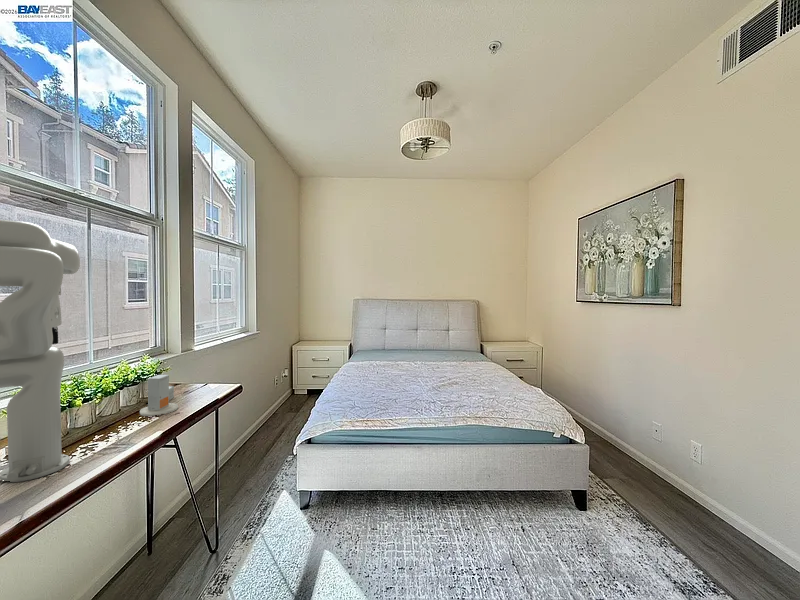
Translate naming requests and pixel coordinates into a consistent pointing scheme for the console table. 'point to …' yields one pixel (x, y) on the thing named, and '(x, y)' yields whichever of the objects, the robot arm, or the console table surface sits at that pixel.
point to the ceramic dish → (165, 410)
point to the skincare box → (158, 392)
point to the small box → (171, 392)
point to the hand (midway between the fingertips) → (45, 346)
